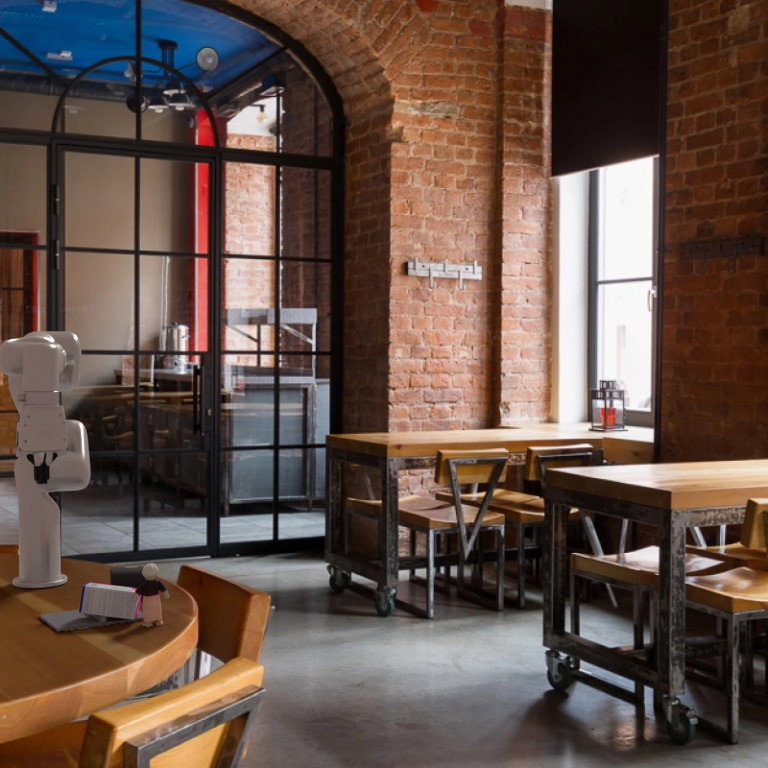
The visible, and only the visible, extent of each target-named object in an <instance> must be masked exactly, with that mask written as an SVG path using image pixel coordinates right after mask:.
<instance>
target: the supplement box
mask: <svg viewBox="0 0 768 768" xmlns="http://www.w3.org/2000/svg"><path fill="white" fill-rule="evenodd" d="M136 589H137V588H131V587H123V586H115V585H110V584H105V583H99V582H91V581H87V582H86V583H84V584H82V586H81V592H80V600H79V608H78V610H79V613H85V614H93V615H101V616H109V617H117V618H125V619H133V620H134V619H135V618H136V617H137V616H138V614H139V611H140V609H141V602H142V601H141V599H142V596H141V595H140V596H139V597H138V600H137V601H136V602H134V601H133V600H132V599H133V597H134V594H135V591H136Z"/></svg>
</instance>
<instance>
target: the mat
mask: <svg viewBox="0 0 768 768" xmlns="http://www.w3.org/2000/svg"><path fill="white" fill-rule="evenodd" d="M38 619H40V620H41V621H42V620H43V622H44V623H45V622H46V623H47V624H46V623H45V624H46V625H47V626H49V627H50V628H52V630H54V629H55V630H54V631H55V632H57V631H58V632H57V633H61V632H60V631H65V632H67V631H66V630H71V629H78V628H85V627H92V626H100V625H107V626H110V625H109V624H114V625H117V624H116V623H121V624H123V623H122V622H128V623H131V622H130V621H134V622H136V621H135V620H141V621H144V619H143V611H141V610H139V614H138V616H137V617H136V618H135V619H134V620H133V619H125V618H117V617H109V616H101V615H93V614H85V613H79V609H73V610H72V609H71V610H65V611H59V612H58V611H57V612H52V613H51V612H50V613H44V614H43V613H42V614H38ZM100 627H101V626H100Z"/></svg>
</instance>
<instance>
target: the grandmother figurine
mask: <svg viewBox="0 0 768 768" xmlns="http://www.w3.org/2000/svg"><path fill="white" fill-rule="evenodd" d="M156 564H157V563H147V564H145V565H143V566H144V567H143V570H142V574H143V576H144V577H145V579H146V580H148V581H147V582H144V583H142V584H140V585H139V586H138V588H137V589H136V591H135V594H134V597H133V599H132V600H133V601H134V602H136V601H137V600H138V597H139V596H140V595H142V594H144V595H143V596H142V612H143V619H144V620H143V622H141V626H142V625H143V626H142V627H144V626H146V627H145V628H151V627H150V626H152V627H153V626H154V625H155V626H162V625H164V622H163V620H162V619H163V616H162V613H163V612H162V602H161V597H160V592H161V593H162V595H163V596H164V598H165V600H166V599H169V598H170V594H169V591H168V590H167V588H166V585H164V583H163V582H161V581H160V580H157V577H158V575H159V572H160V570H159V568H158V565H156ZM155 578H156V580H155ZM153 623H154V624H153Z"/></svg>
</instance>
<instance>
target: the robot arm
mask: <svg viewBox="0 0 768 768" xmlns="http://www.w3.org/2000/svg"><path fill="white" fill-rule="evenodd" d="M81 366H82V345H81V342H80V338H79V337H78V335H76V334H75V333H74V332H72V331H66V330H65V331H64V330H63V331H62V330H61V331H57V330H56V331H54V330H53V331H51V330H50V331H49V330H48V331H45V330H42V331H41V330H39V331H38V330H37V331H31V332H29V333H26V334H25V335H24V336H23V337H19V338H18V337H17V338H11V339H5V340H4V341H3V342H2V344H1V345H0V370H1V372H2V374H4V375H5V376H7V381H8V388H9V393H10V396H11V399H12V401H13V403H14V406H15V408H16V409H17V411H18V415H17V421H16V422H17V423H16V432H15V433H16V436H15V442H16V443H15V445H16V452H15V456H16V457H17V459H16V460H15V463H14V469H13V472H14V479H15V485H16V491H17V492H16V493H17V494H16V495H17V503H18V505H17V507H18V566H19V567H18V571H19V573H18V574H19V575H18V576H16V577H14V578H13V579H12V586H14V587H16V588H22V589H40V588H42V589H45V588H52V587H57V586H60V585H64V584H66V583H67V582H68V576H67V575H66V574H64V573H62V572H61V569H62V567H61V565H62V564H61V510H60V507H59V505H58V503H57V502H56V501H55V500H54V499H53V498H52V497H51V496H50V495H49V493H55V492H71V491H73V492H74V491H80V490H84V489H86V488H87V487H88V485H89V484H90V480H91V461H90V460H91V459H90V450H89V438H88V433H87V429H86V426H85V425H84V423H83V422H81V421H80V420H77V419H66V414H65V413H66V412H65V409H64V408H65V407H64V406H63V405H60V393H61V392H63V393H66V392H72V391H75V390H76V389H77V388H78V387H79V384H80V381H81V371H82V370H81Z"/></svg>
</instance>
